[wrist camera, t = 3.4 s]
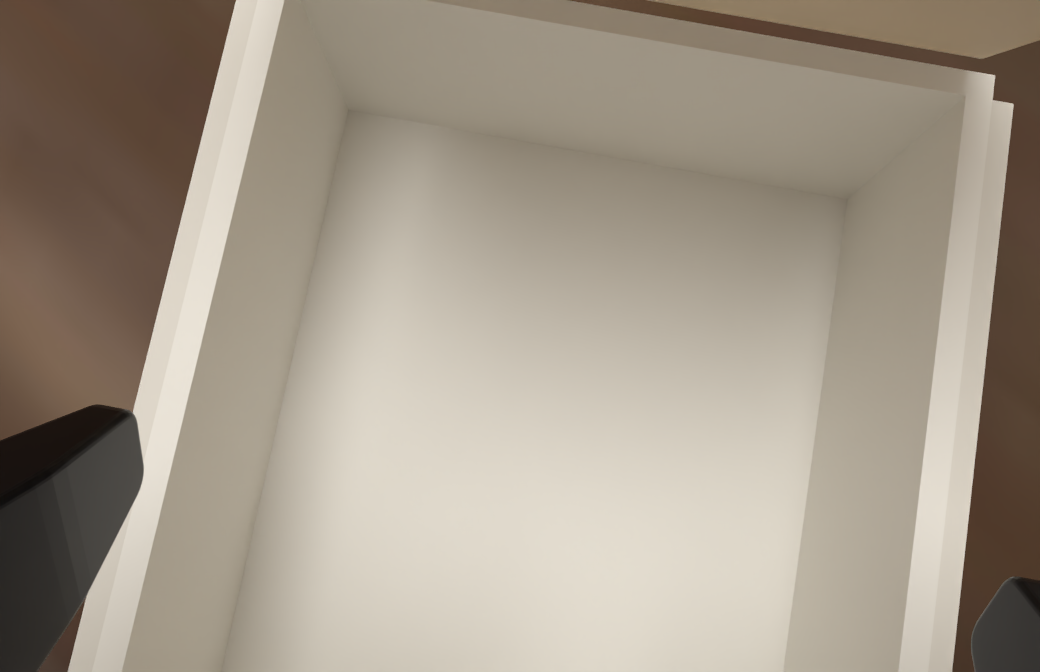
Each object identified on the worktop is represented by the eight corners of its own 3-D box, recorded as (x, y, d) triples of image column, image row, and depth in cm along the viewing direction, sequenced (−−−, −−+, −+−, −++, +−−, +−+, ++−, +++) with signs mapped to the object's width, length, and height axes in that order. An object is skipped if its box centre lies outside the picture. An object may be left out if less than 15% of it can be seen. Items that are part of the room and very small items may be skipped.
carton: (790, 857, 22) (914, 1021, 15) (173, 736, 23) (24, 843, 16) (877, 193, 25) (1016, 79, 18) (322, 93, 25) (250, -56, 18)
